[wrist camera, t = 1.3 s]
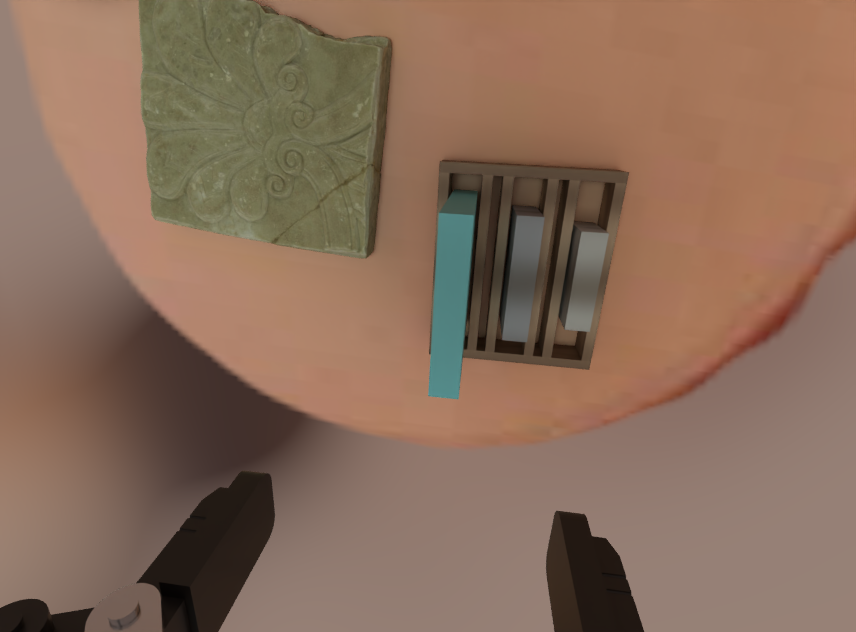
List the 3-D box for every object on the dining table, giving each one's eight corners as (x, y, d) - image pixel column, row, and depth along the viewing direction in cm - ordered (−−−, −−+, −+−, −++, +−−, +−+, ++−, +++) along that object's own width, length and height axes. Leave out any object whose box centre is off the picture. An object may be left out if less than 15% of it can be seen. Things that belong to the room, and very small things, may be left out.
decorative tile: (374, 255, 42) (364, 264, 39) (169, 215, 43) (142, 222, 40) (402, 23, 35) (394, 11, 32) (157, -18, 36) (124, -34, 33)
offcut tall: (512, 204, 39) (516, 215, 33) (535, 206, 38) (544, 217, 33) (499, 314, 42) (501, 340, 37) (521, 316, 42) (526, 342, 36)
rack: (443, 160, 38) (439, 161, 35) (618, 170, 37) (628, 172, 34) (432, 340, 44) (429, 354, 41) (582, 354, 43) (589, 369, 40)
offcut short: (569, 220, 39) (581, 231, 34) (593, 222, 38) (609, 233, 34) (555, 308, 41) (564, 329, 37) (577, 310, 41) (589, 331, 37)
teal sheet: (454, 189, 39) (438, 212, 26) (477, 190, 38) (474, 215, 25) (445, 319, 43) (428, 396, 30) (466, 321, 43) (458, 399, 30)
